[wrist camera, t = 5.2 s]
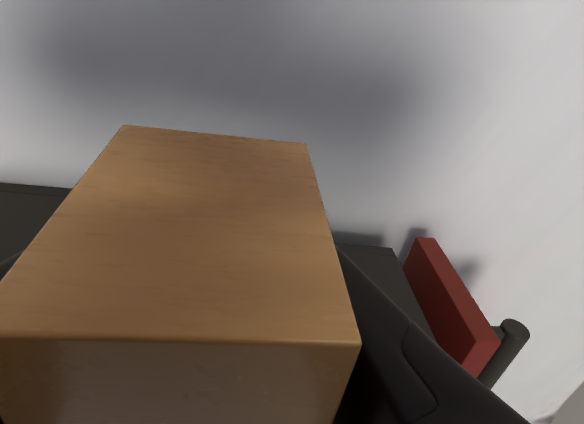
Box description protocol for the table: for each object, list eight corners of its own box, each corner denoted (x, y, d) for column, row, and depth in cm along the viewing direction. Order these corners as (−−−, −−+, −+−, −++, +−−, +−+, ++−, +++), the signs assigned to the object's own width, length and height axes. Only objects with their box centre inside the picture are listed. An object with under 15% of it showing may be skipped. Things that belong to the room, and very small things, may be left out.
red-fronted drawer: (501, 243, 23) (589, 345, 17) (433, 360, 29) (480, 466, 23) (197, 218, 20) (173, 331, 14) (192, 354, 26) (175, 473, 20)
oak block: (306, 143, 9) (364, 344, 4) (283, 274, 11) (305, 501, 6) (122, 123, 8) (-46, 332, 4) (135, 266, 10) (41, 512, 6)
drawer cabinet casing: (278, 206, 21) (293, 344, 14) (254, 350, 28) (255, 495, 21) (-14, 181, 19) (-188, 329, 12) (36, 344, 26) (-52, 505, 18)
